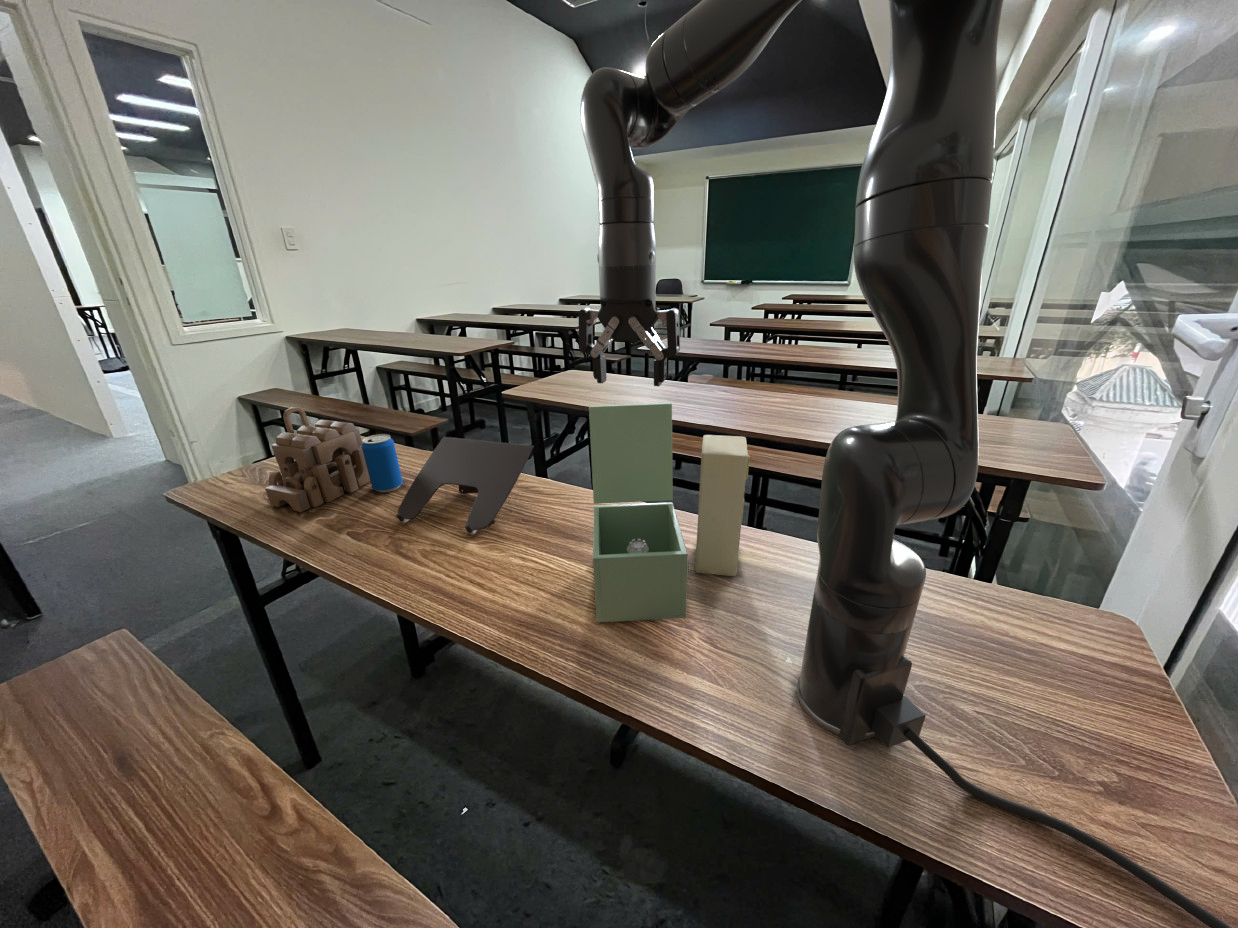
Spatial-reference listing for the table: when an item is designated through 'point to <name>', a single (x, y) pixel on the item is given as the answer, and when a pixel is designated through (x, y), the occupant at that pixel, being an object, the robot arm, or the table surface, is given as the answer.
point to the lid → (631, 453)
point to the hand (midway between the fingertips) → (629, 383)
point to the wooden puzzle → (316, 463)
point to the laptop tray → (468, 477)
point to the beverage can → (382, 462)
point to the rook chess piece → (637, 547)
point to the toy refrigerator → (721, 503)
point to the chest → (639, 563)
